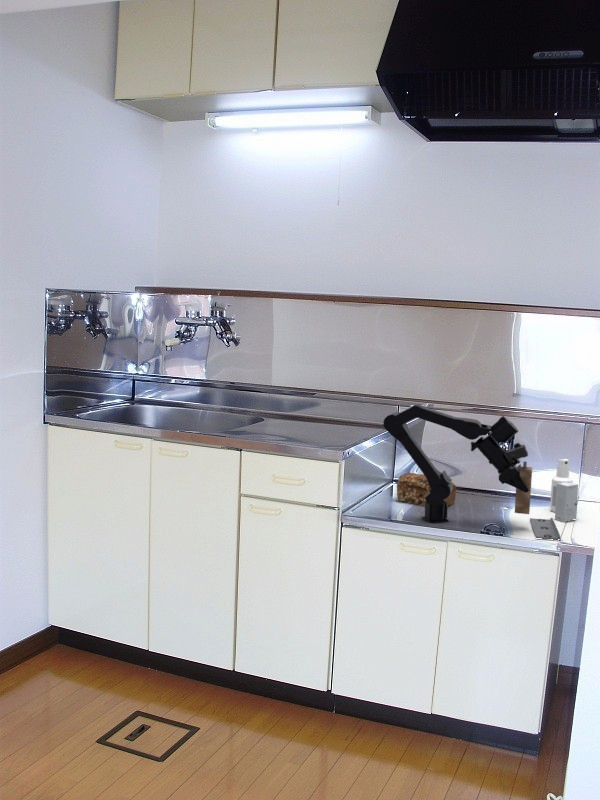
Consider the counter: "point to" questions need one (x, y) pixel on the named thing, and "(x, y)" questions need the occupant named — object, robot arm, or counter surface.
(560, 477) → the spray bottle
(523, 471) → the post
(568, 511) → the skincare box
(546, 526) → the flange strip
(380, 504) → the counter surface
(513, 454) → the robot arm
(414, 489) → the bread
